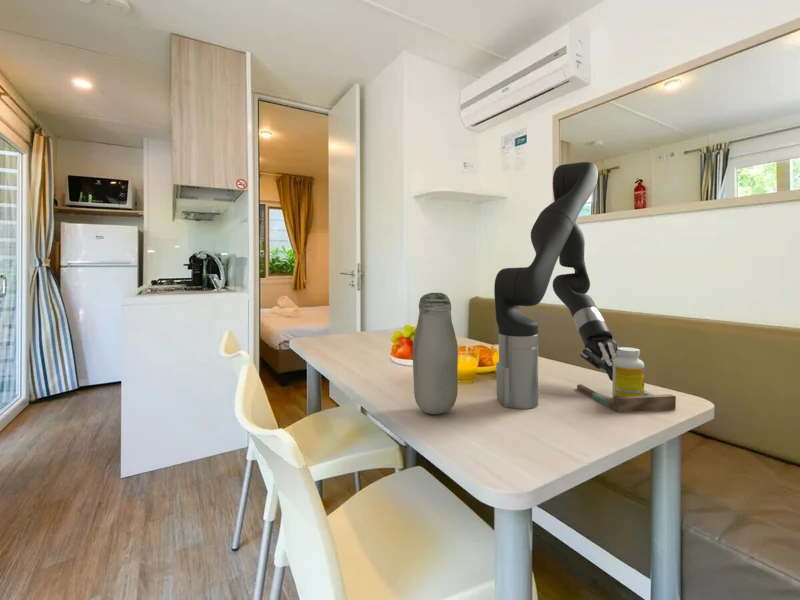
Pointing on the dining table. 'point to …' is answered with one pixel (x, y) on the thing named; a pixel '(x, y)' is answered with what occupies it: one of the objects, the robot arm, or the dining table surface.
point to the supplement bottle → (628, 373)
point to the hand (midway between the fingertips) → (618, 381)
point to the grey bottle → (435, 355)
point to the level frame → (634, 401)
